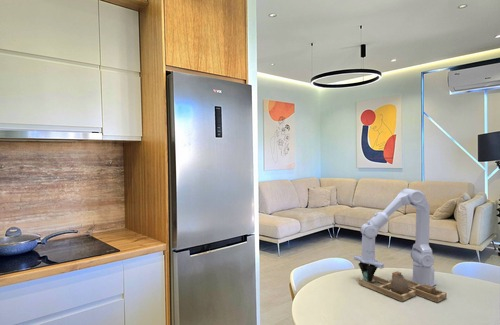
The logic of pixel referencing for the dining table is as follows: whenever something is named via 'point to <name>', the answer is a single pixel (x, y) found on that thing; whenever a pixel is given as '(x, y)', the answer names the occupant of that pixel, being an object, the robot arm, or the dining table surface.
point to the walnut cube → (428, 289)
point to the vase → (399, 285)
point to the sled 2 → (417, 287)
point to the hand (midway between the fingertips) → (367, 279)
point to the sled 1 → (385, 287)
